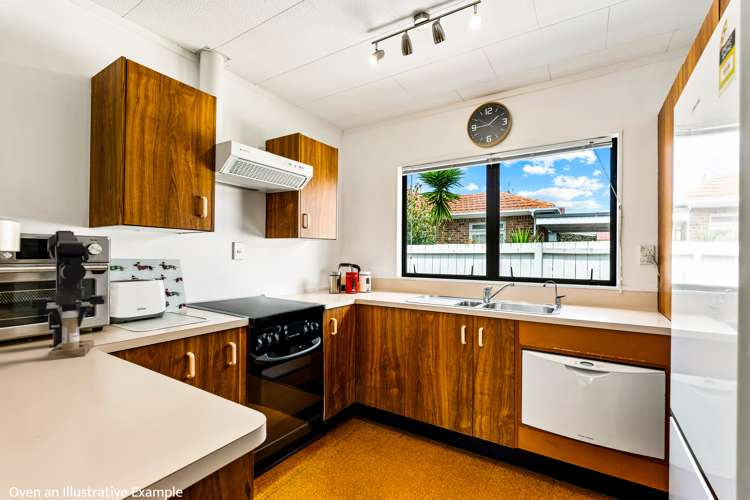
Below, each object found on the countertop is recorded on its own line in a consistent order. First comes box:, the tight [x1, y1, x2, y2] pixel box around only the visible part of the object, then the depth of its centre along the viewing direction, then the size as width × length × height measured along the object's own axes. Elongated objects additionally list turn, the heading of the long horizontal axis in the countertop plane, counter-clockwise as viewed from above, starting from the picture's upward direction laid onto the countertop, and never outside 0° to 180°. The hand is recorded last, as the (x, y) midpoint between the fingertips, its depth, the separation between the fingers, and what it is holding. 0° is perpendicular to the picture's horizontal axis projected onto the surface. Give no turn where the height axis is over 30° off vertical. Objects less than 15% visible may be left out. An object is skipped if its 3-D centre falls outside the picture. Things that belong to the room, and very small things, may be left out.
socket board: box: [48, 338, 95, 361], centre depth 122 cm, size 9×16×2 cm, turn 29°
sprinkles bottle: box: [62, 310, 80, 350], centre depth 119 cm, size 5×5×14 cm
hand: (70, 327), depth 119 cm, fingers closed on sprinkles bottle, 4 cm apart
